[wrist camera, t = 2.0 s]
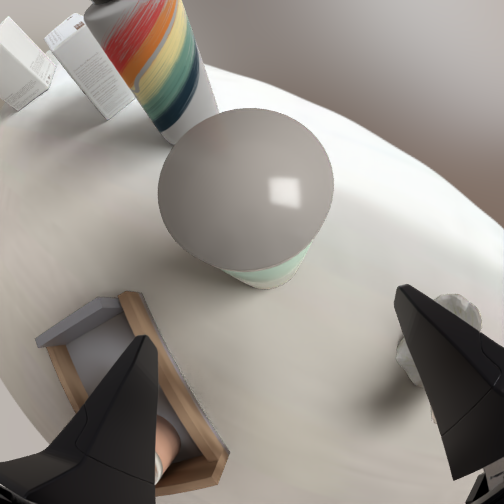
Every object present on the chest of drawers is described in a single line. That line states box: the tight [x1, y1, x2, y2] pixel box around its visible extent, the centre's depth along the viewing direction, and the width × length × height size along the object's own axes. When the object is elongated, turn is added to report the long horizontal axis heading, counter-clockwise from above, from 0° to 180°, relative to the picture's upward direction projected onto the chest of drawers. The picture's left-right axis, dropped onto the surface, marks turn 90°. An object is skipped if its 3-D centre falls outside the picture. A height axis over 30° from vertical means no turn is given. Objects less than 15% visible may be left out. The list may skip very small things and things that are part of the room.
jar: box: [155, 415, 181, 485], centre depth 16 cm, size 5×5×5 cm
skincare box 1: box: [0, 16, 56, 111], centre depth 22 cm, size 8×7×16 cm
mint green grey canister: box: [158, 108, 334, 289], centre depth 15 cm, size 6×6×13 cm
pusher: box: [35, 297, 124, 348], centre depth 19 cm, size 1×8×4 cm, turn 119°
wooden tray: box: [46, 291, 230, 497], centre depth 18 cm, size 15×11×5 cm
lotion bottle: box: [84, 0, 219, 145], centre depth 14 cm, size 6×6×20 cm
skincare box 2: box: [44, 13, 135, 120], centre depth 20 cm, size 6×4×12 cm
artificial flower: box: [395, 294, 482, 424], centre depth 14 cm, size 9×22×10 cm, turn 51°
